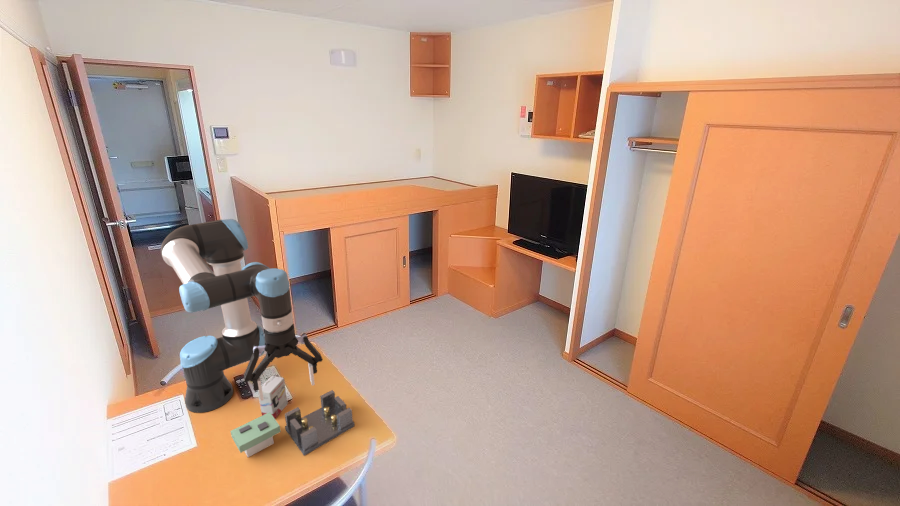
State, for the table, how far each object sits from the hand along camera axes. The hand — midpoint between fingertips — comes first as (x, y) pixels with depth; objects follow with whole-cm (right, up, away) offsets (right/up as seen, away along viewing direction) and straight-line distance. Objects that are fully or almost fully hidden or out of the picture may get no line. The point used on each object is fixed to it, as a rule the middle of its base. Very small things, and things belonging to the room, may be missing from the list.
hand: (287, 389), depth 114 cm
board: (-15, -18, +12) cm, 26 cm away
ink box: (-16, -17, +28) cm, 37 cm away
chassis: (+2, -20, +21) cm, 29 cm away
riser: (-15, -23, +13) cm, 30 cm away
